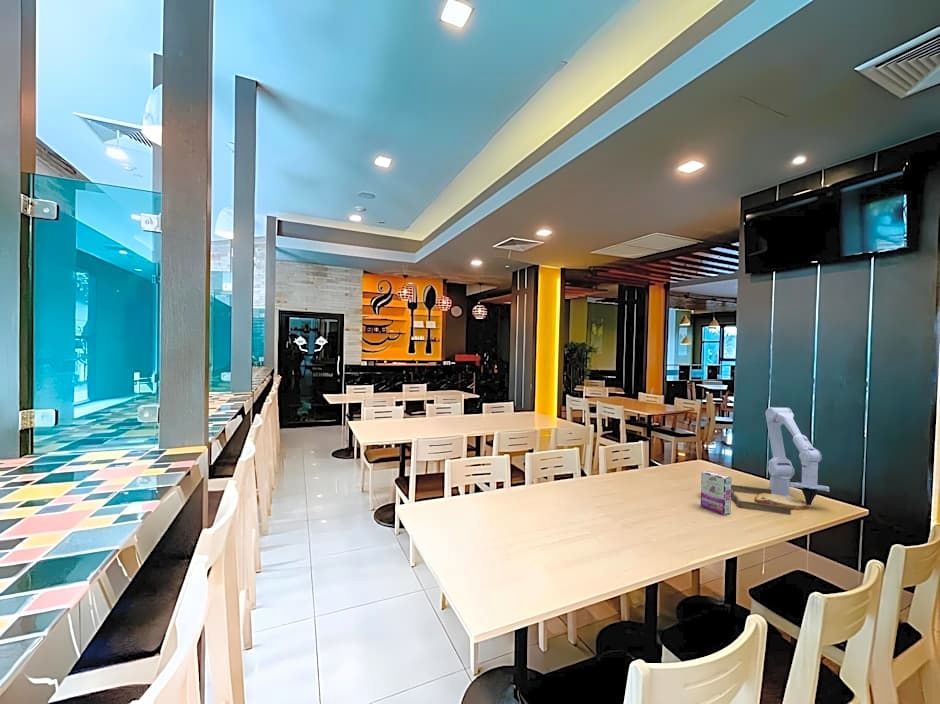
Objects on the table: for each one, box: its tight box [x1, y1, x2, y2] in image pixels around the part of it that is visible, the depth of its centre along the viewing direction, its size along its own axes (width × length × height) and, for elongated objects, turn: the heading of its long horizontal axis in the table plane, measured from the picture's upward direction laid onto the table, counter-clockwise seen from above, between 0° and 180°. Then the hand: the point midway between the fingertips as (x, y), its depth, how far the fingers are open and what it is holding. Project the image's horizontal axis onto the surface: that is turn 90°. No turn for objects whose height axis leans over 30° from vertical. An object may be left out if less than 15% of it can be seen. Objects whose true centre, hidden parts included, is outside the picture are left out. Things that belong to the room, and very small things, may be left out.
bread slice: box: [754, 493, 809, 511], centre depth 196 cm, size 18×18×4 cm
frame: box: [731, 484, 792, 515], centre depth 199 cm, size 26×20×3 cm
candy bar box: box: [700, 470, 732, 516], centre depth 186 cm, size 11×5×16 cm, turn 27°
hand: (808, 504), depth 193 cm, fingers closed
